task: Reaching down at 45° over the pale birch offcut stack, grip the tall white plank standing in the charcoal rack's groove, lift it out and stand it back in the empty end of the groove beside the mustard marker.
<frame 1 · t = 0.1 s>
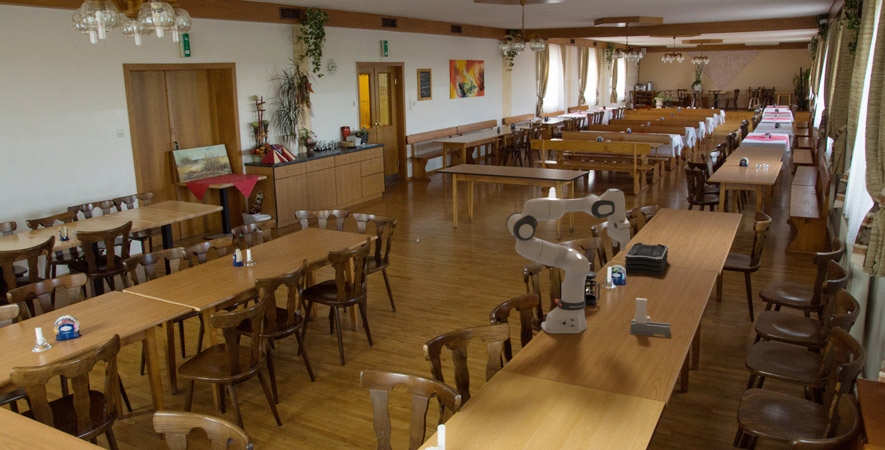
hand: (619, 248, 327), 39 cm above the table, tool pointing down, fingers open, 8 cm apart
container: (646, 267, 431), on the table
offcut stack: (641, 326, 328), point 1 cm above the table, touching rack
rack: (650, 332, 323), on the table
plank: (640, 330, 323), point 1 cm above the table, touching rack
french press: (588, 303, 367), on the table
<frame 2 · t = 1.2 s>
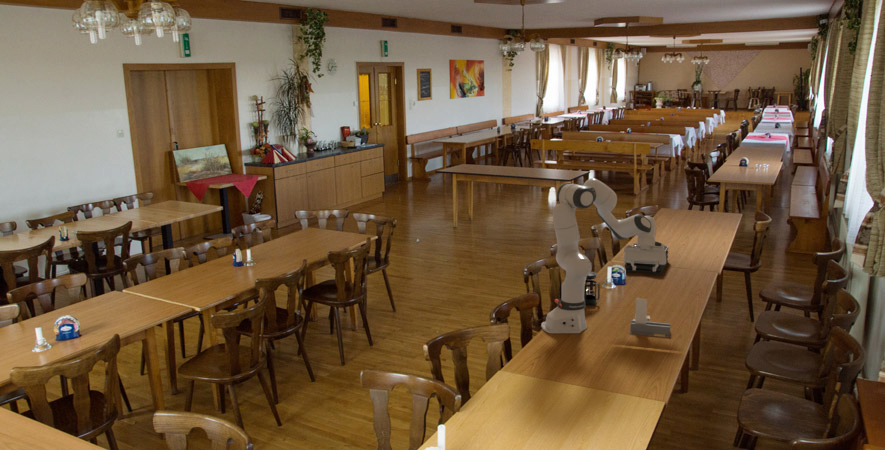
hand: (644, 270, 328), 28 cm above the table, tool tilted 45°, fingers open, 8 cm apart
nothing on the table moved.
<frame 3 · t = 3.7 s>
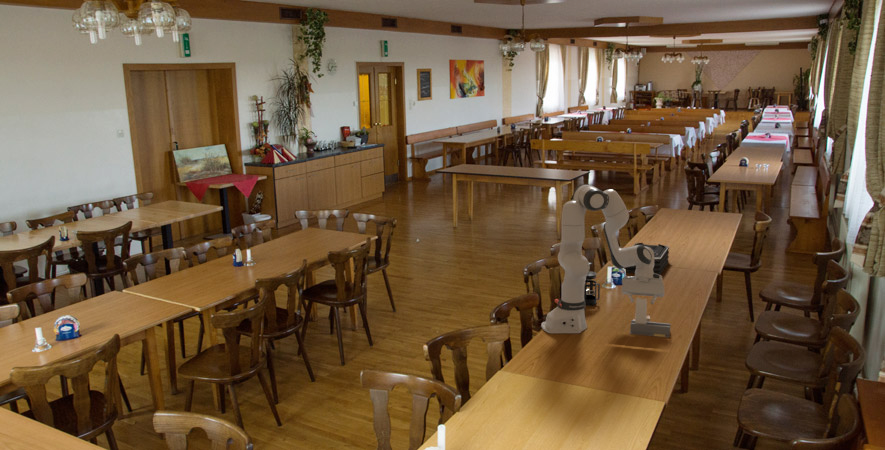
hand: (641, 302, 324), 14 cm above the table, tool tilted 45°, fingers open, 8 cm apart
nothing on the table moved.
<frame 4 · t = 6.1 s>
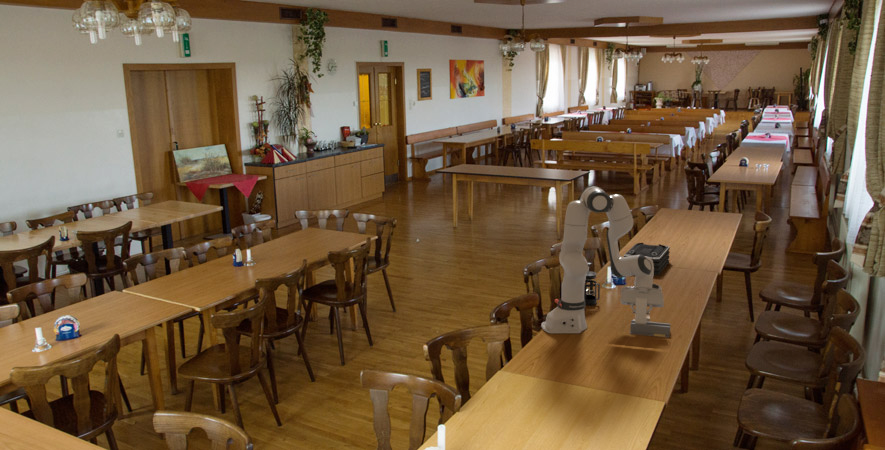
hand: (640, 313, 320), 10 cm above the table, tool tilted 45°, fingers closed on plank, 5 cm apart
plank: (640, 330, 323), point 1 cm above the table, touching gripper, rack
everything else where it was.
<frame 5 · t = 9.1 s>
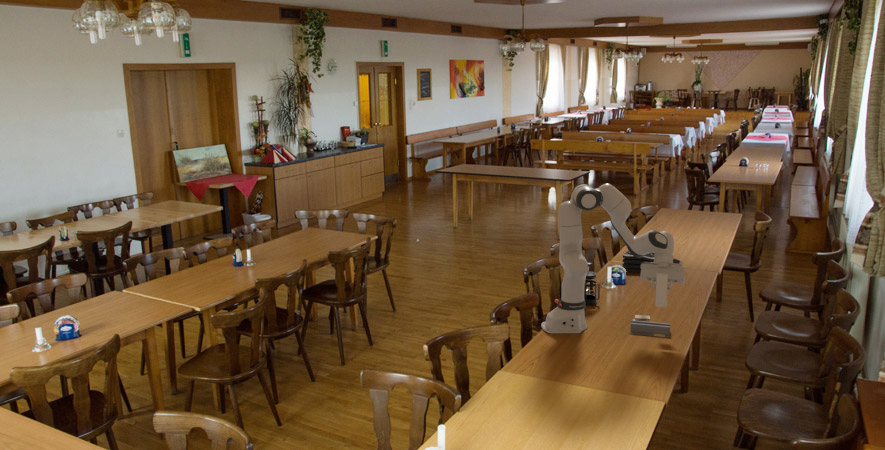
hand: (661, 288, 314), 23 cm above the table, tool tilted 45°, fingers closed on plank, 5 cm apart
plank: (660, 306, 317), point 14 cm above the table, touching gripper
when the fingers open (11 cm above the table, at t = 12.6 s): plank drops 1 cm, resting on rack.
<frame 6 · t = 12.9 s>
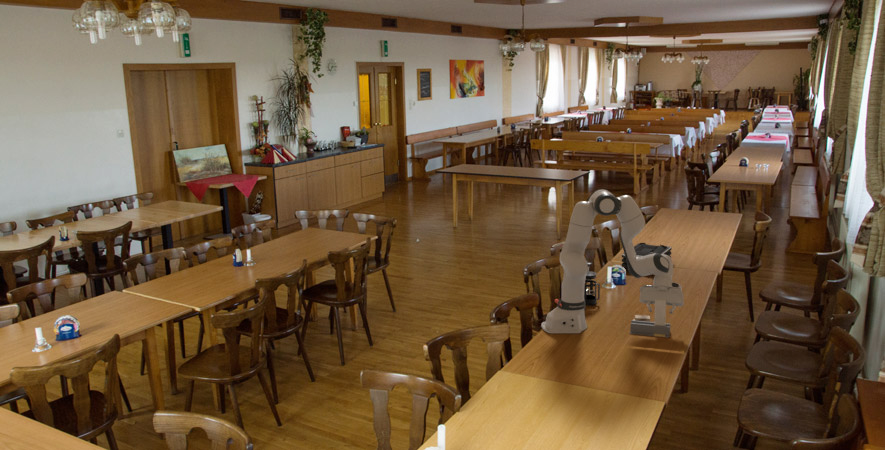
hand: (660, 312, 317), 11 cm above the table, tool tilted 45°, fingers open, 8 cm apart
plank: (659, 332, 320), point 1 cm above the table, touching rack
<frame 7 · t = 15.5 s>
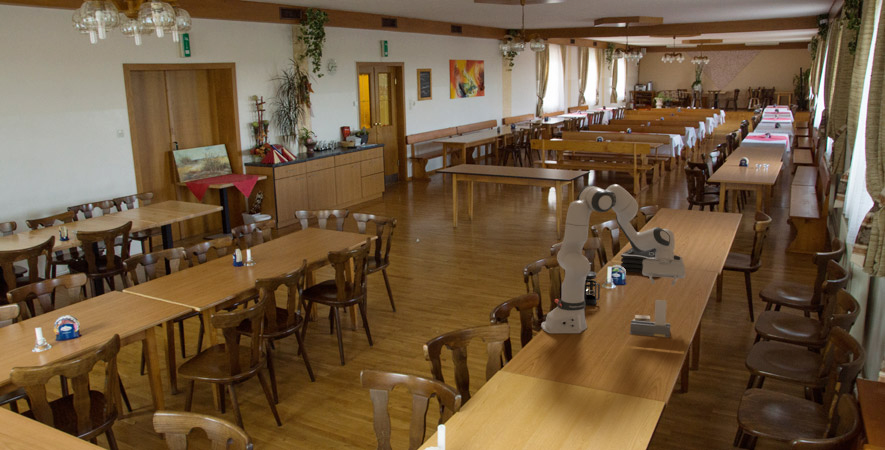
hand: (662, 284, 326), 21 cm above the table, tool tilted 45°, fingers open, 8 cm apart
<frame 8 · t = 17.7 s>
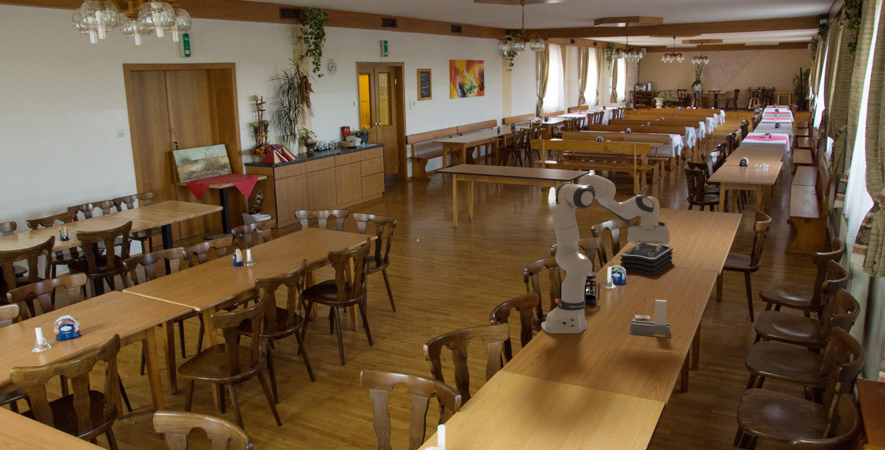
hand: (647, 249, 329), 37 cm above the table, tool tilted 45°, fingers open, 8 cm apart
at the end: plank 0.1 cm from the target spot on the rack, point 1.0 cm above the rack's base; plank tilted 0°; the gripper is holding nothing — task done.
